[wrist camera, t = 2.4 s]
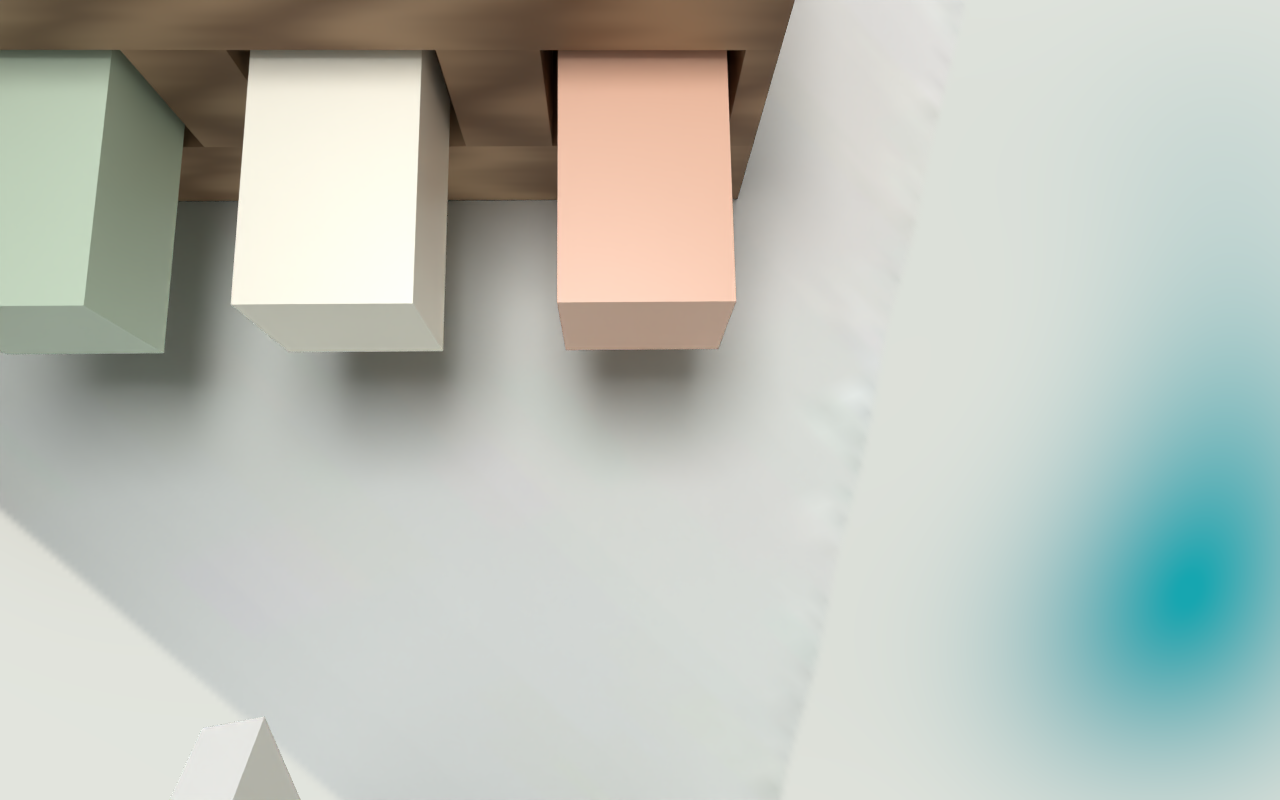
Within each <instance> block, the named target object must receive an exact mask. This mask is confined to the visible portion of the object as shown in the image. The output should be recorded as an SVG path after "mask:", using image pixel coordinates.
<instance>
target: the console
mask: <svg viewBox="0 0 1280 800" xmlns="http://www.w3.org/2000/svg"><path fill="white" fill-rule="evenodd" d="M794 1H795V0H0V50H121V52H122V53H123V54H124V55H125V56H126V57H127V58H128V60H129V61H130V62H131V63H132V64H133V65H134V67H135V68H136V69H137V70H138V71H139V72H140V74H141V75H142V76H143V77H144V78H145V79H146V80H147V82H148V83H149V84H150V85H151V86H152V87H153V89H154V90H155V91H156V92H157V93H158V94H159V95H160V97H161V98H162V99H163V100H164V101H165V102H166V104H167V105H168V106H169V107H170V108H171V109H172V110H173V112H174V113H175V114H176V115H177V116H178V117H179V119H180V120H181V121H182V122H183V123H184V124H185V129H184V140H183V151H182V162H181V172H180V183H179V194H178V201H239V190H240V177H241V165H242V152H243V139H244V126H245V113H246V100H247V87H248V74H249V61H250V50H435V53H436V56H437V59H438V62H439V65H440V69H441V72H442V75H443V78H444V81H445V84H446V88H447V91H448V94H449V97H450V130H449V164H448V199H447V200H558V50H727V71H728V97H729V124H730V151H731V178H732V199H737V198H738V195H739V191H740V188H741V184H742V181H743V177H744V174H745V170H746V167H747V163H748V160H749V156H750V153H751V150H752V146H753V143H754V139H755V136H756V132H757V129H758V125H759V122H760V118H761V115H762V112H763V108H764V105H765V101H766V98H767V94H768V91H769V87H770V84H771V80H772V77H773V73H774V70H775V67H776V63H777V60H778V56H779V53H780V49H781V46H782V42H783V39H784V35H785V32H786V28H787V25H788V22H789V18H790V15H791V11H792V8H793V4H794Z"/></svg>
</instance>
